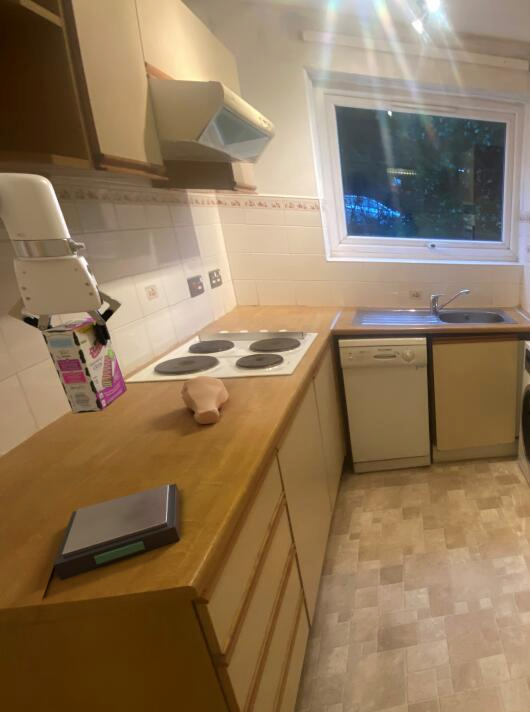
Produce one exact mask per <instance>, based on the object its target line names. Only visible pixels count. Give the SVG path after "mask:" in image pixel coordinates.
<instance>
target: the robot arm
mask: <svg viewBox="0 0 530 712" xmlns="http://www.w3.org/2000/svg"><path fill="white" fill-rule="evenodd" d="M0 218H1V220H2V222H3V225H4V227H5V229H6V232H7V234H8V237H9V239H10V242H11V245H12V247H13V248H14V252H15V255H16V257H17V258H14V259H13V267H14V272H15V273H14V274H15V278H16V281H17V285H18V289H19V293H20V298H19V299H18V300H17V301H16V302H15V303H14V304H13V306H11V308H10V309H9V310H8V311H7V315H8V316H10V317H12V318H14V319H17V320H19V321H22V322H23V323H24V324H27V325H29V326H31V327H33V328H35V329H37V330H39V331H40V332H43V331H45V330H48V329H50V328H53V327H54V326H53V325H52V324H51V323H52V316H56V315H57V316H58V315H68V314H79V313H87V314H88V316H89V317H90V318H93V319H94V320H95V323H96V325H95V329H96V332H97V335H98V337H99V340H100V343H101V345H103V346H104V345H107V343H108V340H112V339H111V335H110V332H109V329H108V326H107V322H108V321H109V319H110V318H111V317H112V316H113V315H114V314H115V313H116V312H117V311H118V310H119V309H120V307H121V306H122V302H121V301H120V300H118V299H117V298H115V297H113V296H111V295H110V294H108V293H106V292H104V291H102V290H100V287H99V285H98V282H97V280H96V278H95V275H94V274H93V271H92V269H91V267H90V266H89V263H88V261H87V260H86V258H85V257H84V256H83V255H78V252H81V251H85V250H86V247H85V243H84V242H82V241H81V242H78V241H75V240H73V238H72V237H71V234H70V233H69V232H70V231H69V229H68V226H67V224H66V221H65V217H64V213H63V212H62V209H61V207H60V203H59V201H58V198H57V195H56V193H55V189H54V187H53V184H52V183H51V181H50V180H49V179H48V178H46V177H44V176H43V175H41V174H40V175H39V174H33V173H32V174H31V173H21V172H19V173H18V172H17V173H16V172H0ZM104 303H106V304H108V305H109V306H108V307H107V308H106V309H105V310H104V311H103V313H102V312H101V311H100V309H101V308H102V306H103V305H104ZM24 309H25V310H27V313H26V312H25V311H24ZM28 313H29V314H28ZM35 316H37V317H38V318H37V317H35Z"/></svg>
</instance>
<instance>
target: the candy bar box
mask: <svg viewBox="0 0 530 712" xmlns="http://www.w3.org/2000/svg"><path fill="white" fill-rule="evenodd" d="M95 325H96V323H95V320H94V319H93V318H92V317H84V318H83V317H82V318H74V319H71V320H69V321H66V322H63V323H61V324H58V325H55V326H52V327H53V328H50V329H48V330H45V331H43V332H42V331H40V332H41V334H42V336H43V339H44V342H45V345H46V347H47V350H48V352H49V356H50V357H51V361H52V363H53V366H54V368H55V370H56V373H57V375H58V378H59V382H60V383H61V386H62V389H63V390H64V394H65V396H66V399H67V401H68V404H69V407H70V409H71V412H72V414H74V415H75V414H77V415H78V414H86V413H97V412H103V411H104V410H105V409H106V408H108V407H109V406H110V405H111V404H112V403H114V402H115V401H116V400H117V399H119V398H120V397H121V396H122V395H124V393H126V392H127V391H128V388H127V386H126V382H125V380H124V376H123V373H122V371H121V368H120V365H119V362H118V358H117V356H116V353H115V350H114V346H113V343H112V341H111V340H112V339H110V340H108V343H107V345H104V346H103V345H101V343H100V340H99V337H98V335H97V332H96V329H95Z"/></svg>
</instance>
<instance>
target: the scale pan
mask: <svg viewBox="0 0 530 712" xmlns="http://www.w3.org/2000/svg"><path fill="white" fill-rule="evenodd" d="M169 485H170V484H164V485H161V486H157V487H154V488H150V489H146V490H143V491H140V492H136V493H132V494H128V495H125V496H121V497H117V498H113V499H109V500H106V501H102V502H98V503H95V504H91V505H87V506H84V507H81V508H80V507H79V508H78V509H77V510H76V511H77V512H76V515H75V518H74V521H73V524H72V527H71V530H70V533H69V535H68V538H67V541H66V544H65V547H64V550H63V553H62V555H63V557H64V558H65V557H68V556H72V555H75V554H78V553H81V552H84V551H88V550H91V549H94V548H97V547H100V546H104V545H107V544H110V543H113V542H116V541H120V540H123V539H126V538H129V537H132V536H135V535H139V534H142V533H145V532H148V531H151V530H155V529H158V528H161V527H164V526H167V525H168V509H169V489H170V487H169Z"/></svg>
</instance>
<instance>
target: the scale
mask: <svg viewBox="0 0 530 712" xmlns="http://www.w3.org/2000/svg"><path fill="white" fill-rule="evenodd" d="M168 485H169V487H170V489H169V509H168V525H167V526H164V527H161V528H158V529H155V530H151V531H148V532H145V533H142V534H139V535H135V536H132V537H129V538H126V539H123V540H120V541H116V542H113V543H110V544H107V545H104V546H100V547H97V548H94V549H91V550H88V551H84V552H81V553H78V554H75V555H72V556H68V557H65V558H64V557H63V555H62V553H63V550H64V547H65V544H66V541H67V538H68V535H69V533H70V530H71V527H72V524H73V521H74V518H75V515H76V512H77V510H75V511H74V510H73V511H72V513H71V515H70V519H69V521H68V524H67V526H66V529H65V532H64V535H63V537H62V541H61V543H60V546H59V549H58V552H57V554H56V556H55V559H54V563H53V567H54V569H55V571H56V573H57V575H58V576H59V579H60V580H64V579H68V578H70V577H74V576H76V575H80V574H83V573H86V572H89V571H91V570H95V569H98V568H101V567H103V566H107V565H110V564H113V563H116V562H119V561H121V560H125V559H128V558H131V557H134V556H138V555H140V554H143V553H146V552H150V551H152V550H155V549H158V548H161V547H164V546H168V545H170V544H173V543H176V542H179V541H181V493H180V490H179V488H178V485H177V483H174V484H168Z"/></svg>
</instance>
